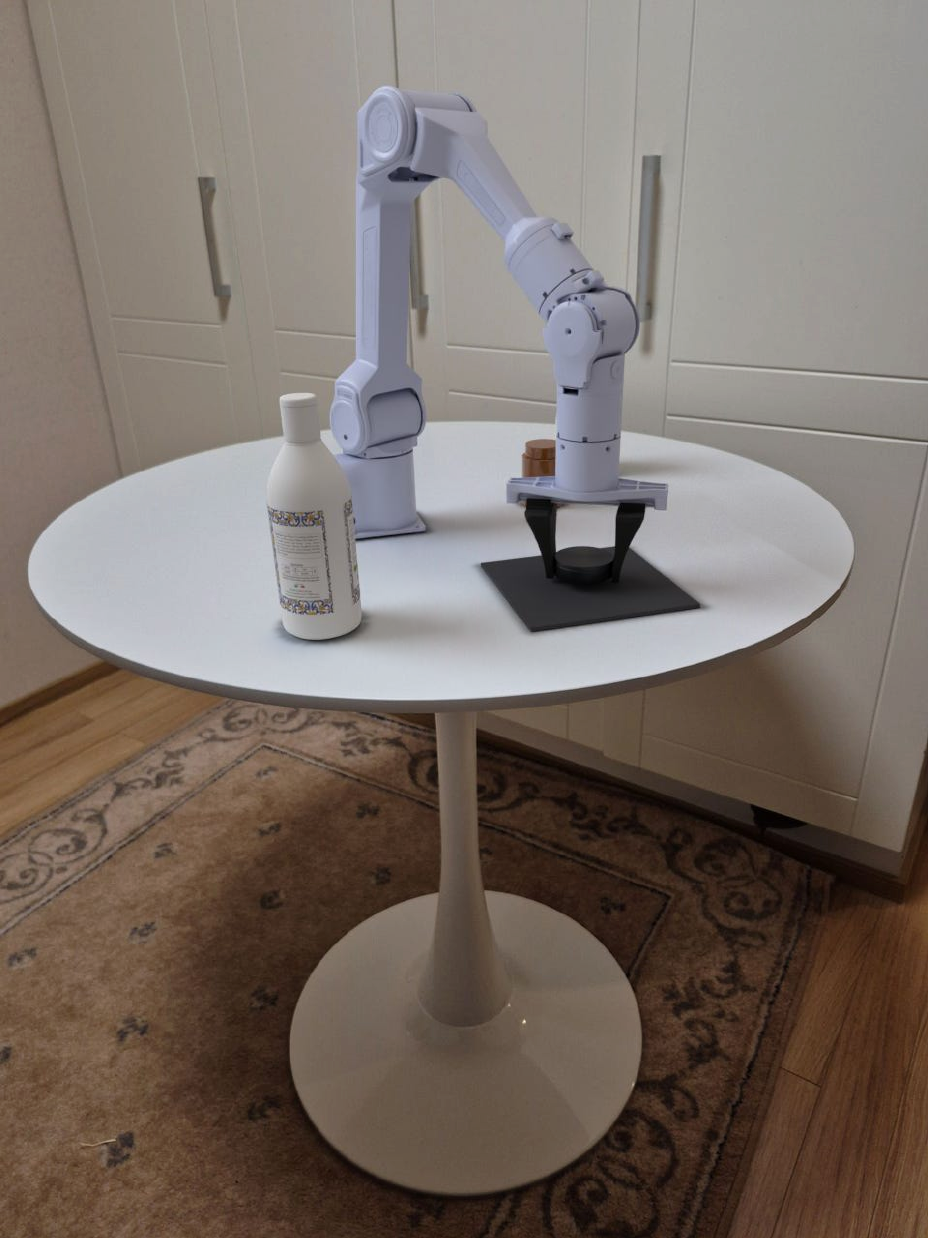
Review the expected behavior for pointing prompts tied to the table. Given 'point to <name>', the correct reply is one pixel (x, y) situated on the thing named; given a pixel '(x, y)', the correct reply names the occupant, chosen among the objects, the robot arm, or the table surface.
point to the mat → (584, 593)
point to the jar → (539, 459)
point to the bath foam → (312, 529)
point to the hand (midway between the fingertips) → (583, 576)
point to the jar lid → (583, 565)
